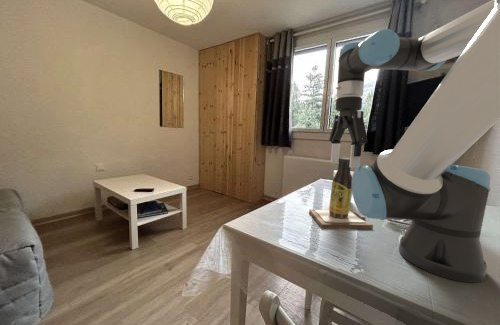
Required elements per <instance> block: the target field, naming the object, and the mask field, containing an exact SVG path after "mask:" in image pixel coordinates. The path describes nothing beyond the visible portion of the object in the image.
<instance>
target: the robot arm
mask: <svg viewBox="0 0 500 325" xmlns="http://www.w3.org/2000/svg"><path fill="white" fill-rule="evenodd" d="M456 57H458V58H457V59H456V60H455V62H454V63H453V65H452V66H451V67H450V69H449V71H448V72H447V73H446V74H445V76H444V78H442V80H441V82H440V83H439V84H438V86H437V87H436V89H435V90H434V91H433V93H432V94H431V95H430V97H429V99H428V100H427V102H426V103H425V104H424V106H423V107H422V108H421V110H420V111H419V113H417V115H416V116H415V118H414V120H413V121H412V122H411V124H410V125H409V127H408V128H407V129H406V130H405V132H404V134H403V135H402V136H401V138H400V139H399V140H398V141H397V143H396V145H394V148H393V149H387V150H384V151H382V152H380V153H379V154H378V156H377V158H376V159H375V161H374V162H373V163H372V165H371V164H370V165H368V164H363V165H361V157H362V146H363V145H364V144H367V143H368V135H367V130H366V126H365V121H364V111H363V110H362V108H363V105H362V104H363V98H362V97H363V94H364V86H365V85H364V84H365V75H366V73H367V72H369V71H371V70H392V71H393V70H394V71H395V70H396V71H398V70H399V71H414V72H415V71H416V72H425V71H426V72H427V71H436V70H437V69H439V68H440V67H441V66H442V65H444V64H445V63H446V61H447V60H451V59H454V58H456ZM337 72H338V73H337V85H336V87H335V89H336V97H337V99H336V101H335V111H337V112H339V114H335V115H334V120H333V124H332V129H331V132H330V136H329V138H328V140H329V142H331V153H330V162H331V163H339V162H338V160H339V158H340V153H341V144H342V143H341V139H342V137H343V135H344V132H346V130H348V134H349V137H350V139H351V143H350V156H349V158H350V164H349V167H351V168H355V170H353V172H354V173H353V177H352V197H353V198H352V199H353V201H354V204H355V206H356V208H357V211H358V212H359V213H361V214H362V215H363V216H365V217H366V218H367V219H375V220H380V221H384V220H411V222H410V223H409V225H408V227H407V229H406V231H405V233H404V235H403V236H402V237H401V238H400V240H399V245H398V251H399V254H400V255H401V256H402V257H403V258H404V259H405V260H407V261H408V262H410V264H412V265H415V266H416V267H417V268H419V269H421V270H423V271H427V272H428V273H430V274H433V275H435V276H438V277H442V278H446V279H449V280H453V281H457V282H464V283H478V282H479V283H480V282H483V281H485V279H486V276H487V270H488V265H487V263H486V260H485V258H484V253H483V249H482V243H481V232H482V228H483V222H484V217H485V212H486V208H487V203H488V197H489V193H490V192H491V187H490V185H491V175H490V173H489V172H488V171H487V170H485V169H481V168H477V167H470V166H465V165H464V166H463V165H458V164H454V163H455V162H456V161H457V160H459V158H461V157H462V155H464V154H465V153H466V152H467V151H468V150H469V149H470V148H471V147H472V146H473V145H474V144H475V143H476V142H477V141H479V139H480V138H482V137H483V135H485V134H486V133H487V132H488V131H489V130H490V129H491V128H492V127H493V126H495V124H497V123H498V121H499V120H500V0H489V1H488V2H485V3H484V4H481V5H480V6H478V7H476V8H474V9H473V10H471V11H468V12H467V13H464V14H463V15H461V16H459V17H457V18H455V19H453V20H451V21H450V22H448V23H446V24H444V25H442V26H440V27H438V28H437V29H435V30H433V31H430V32H428V33H427V34H425V35H422V36H421V37H400V36H399V35H398V33H396V32H394V31H392V29H389V28H383V29H379V30H377V31H375V32H374V33H372V34H370V35H369V36H367V37H365V39H364V40H363V41H352V42H349V43H348V44H344V45H343V46H342V47H341V48H340V51H339V57H338V71H337Z"/></svg>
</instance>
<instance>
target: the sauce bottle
mask: <svg viewBox="0 0 500 325" xmlns="http://www.w3.org/2000/svg"><path fill="white" fill-rule="evenodd" d="M337 163H338V164H337V165H338V166H337V170H338V171H337V173H336V175H335V177H333V179H332V181H331V193H330V200H329V207H328V210H329V213H330V215H331V216H333V217H336V218H347V217H348V214H349V210H351V209H350V208H351V202H352V198H351V194H352V176H351V174H350V171H351V168H352V167H349V164H350V157H339V160H338V162H337ZM352 195H353V194H352ZM350 201H351V202H350Z"/></svg>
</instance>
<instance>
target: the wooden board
mask: <svg viewBox="0 0 500 325" xmlns="http://www.w3.org/2000/svg"><path fill="white" fill-rule="evenodd" d="M308 212H309V215H311V217H312V218H313V219H314V221H315V222H317V224H318V225H319V226H320V228H321V229H351V230H352V229H355V230H356V229H358V230H359V229H361V230H362V229H363V230H364V229H367V230H369V229H370V230H373V228H374V225H373V224H372V223H371V222H369V221H368V220H366V218H367V217H366V216H364V215H363V214H362V213H361V212H360V211H359V210H357V211H354V210H352V209H349V214H348V217H347V218H336V217H333V216H331V215H330V213H329V209H313V208H312V209H309V210H308Z"/></svg>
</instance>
